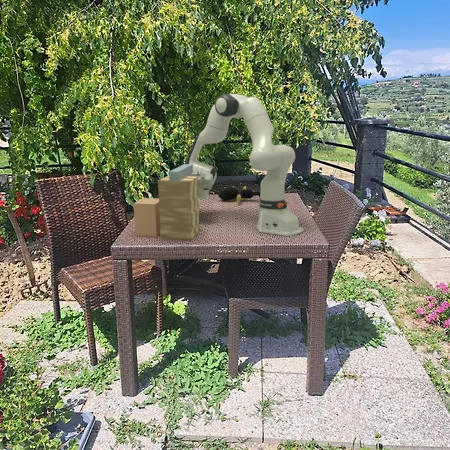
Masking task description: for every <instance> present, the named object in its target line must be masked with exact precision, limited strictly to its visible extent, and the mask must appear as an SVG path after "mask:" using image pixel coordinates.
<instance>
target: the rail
mask: <svg viewBox="0 0 450 450" xmlns="http://www.w3.org/2000/svg"><path fill="white" fill-rule="evenodd" d="M192 173H193V165H192V164H185V163H184V164H182V165H179V166H178V167H176V168H173V169H172V170H169V171H168V176H169V181H180V180H181V179H183V178H185V177H187V176H188V175H190V174H192Z"/></svg>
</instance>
